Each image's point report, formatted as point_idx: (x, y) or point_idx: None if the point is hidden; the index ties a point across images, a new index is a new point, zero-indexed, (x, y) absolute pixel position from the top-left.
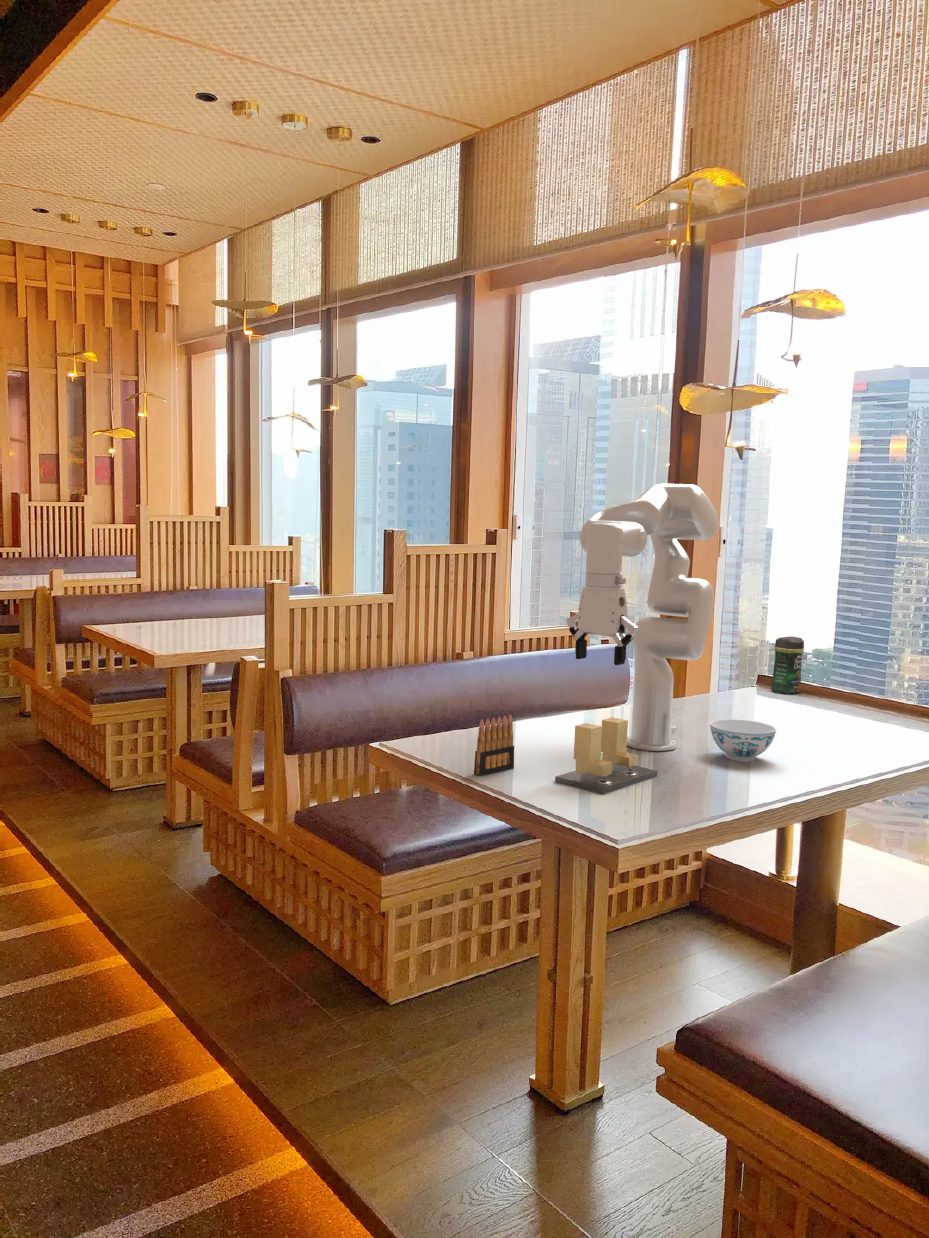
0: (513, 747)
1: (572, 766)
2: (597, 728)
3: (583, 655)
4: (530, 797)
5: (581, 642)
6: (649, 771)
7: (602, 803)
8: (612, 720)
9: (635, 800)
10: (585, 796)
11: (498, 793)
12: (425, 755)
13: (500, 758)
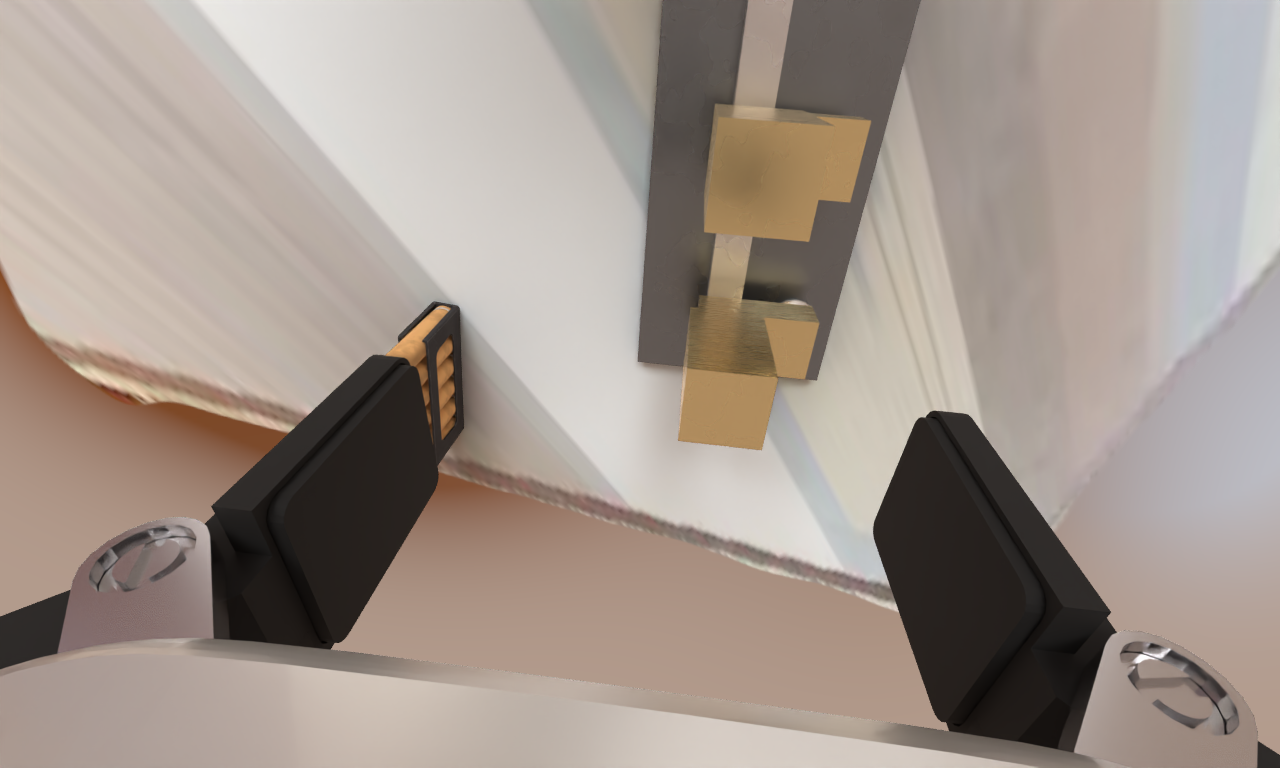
0: (429, 343)
1: (566, 135)
2: (770, 408)
3: (414, 431)
4: (670, 495)
5: (335, 604)
6: (892, 42)
7: (842, 439)
8: (758, 203)
9: (918, 364)
10: (777, 415)
11: (597, 510)
12: (210, 358)
13: (443, 380)
